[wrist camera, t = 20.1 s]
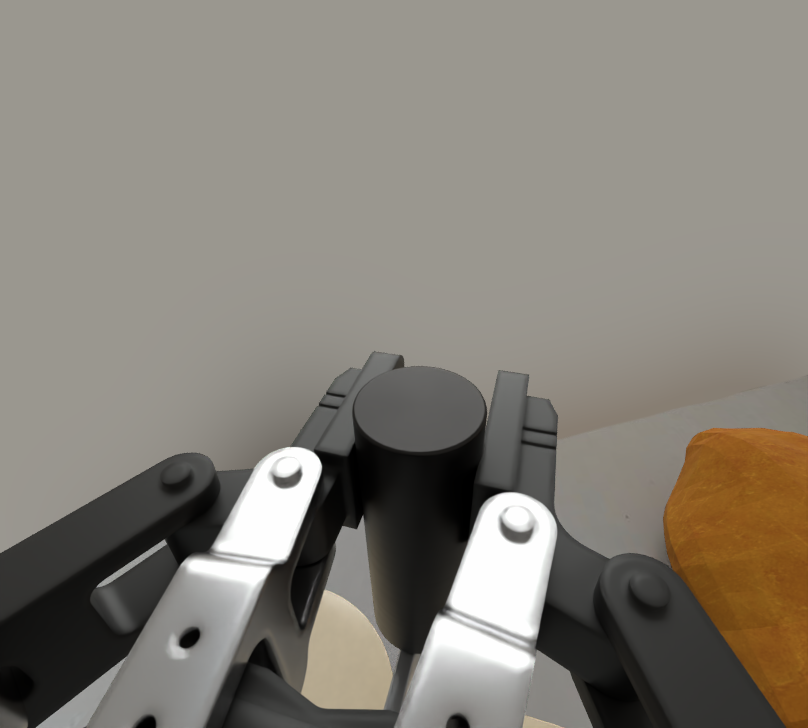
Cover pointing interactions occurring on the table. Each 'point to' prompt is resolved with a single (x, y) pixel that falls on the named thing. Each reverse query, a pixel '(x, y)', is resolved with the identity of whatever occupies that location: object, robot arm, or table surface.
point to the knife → (415, 498)
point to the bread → (749, 552)
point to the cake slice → (537, 723)
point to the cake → (345, 659)
